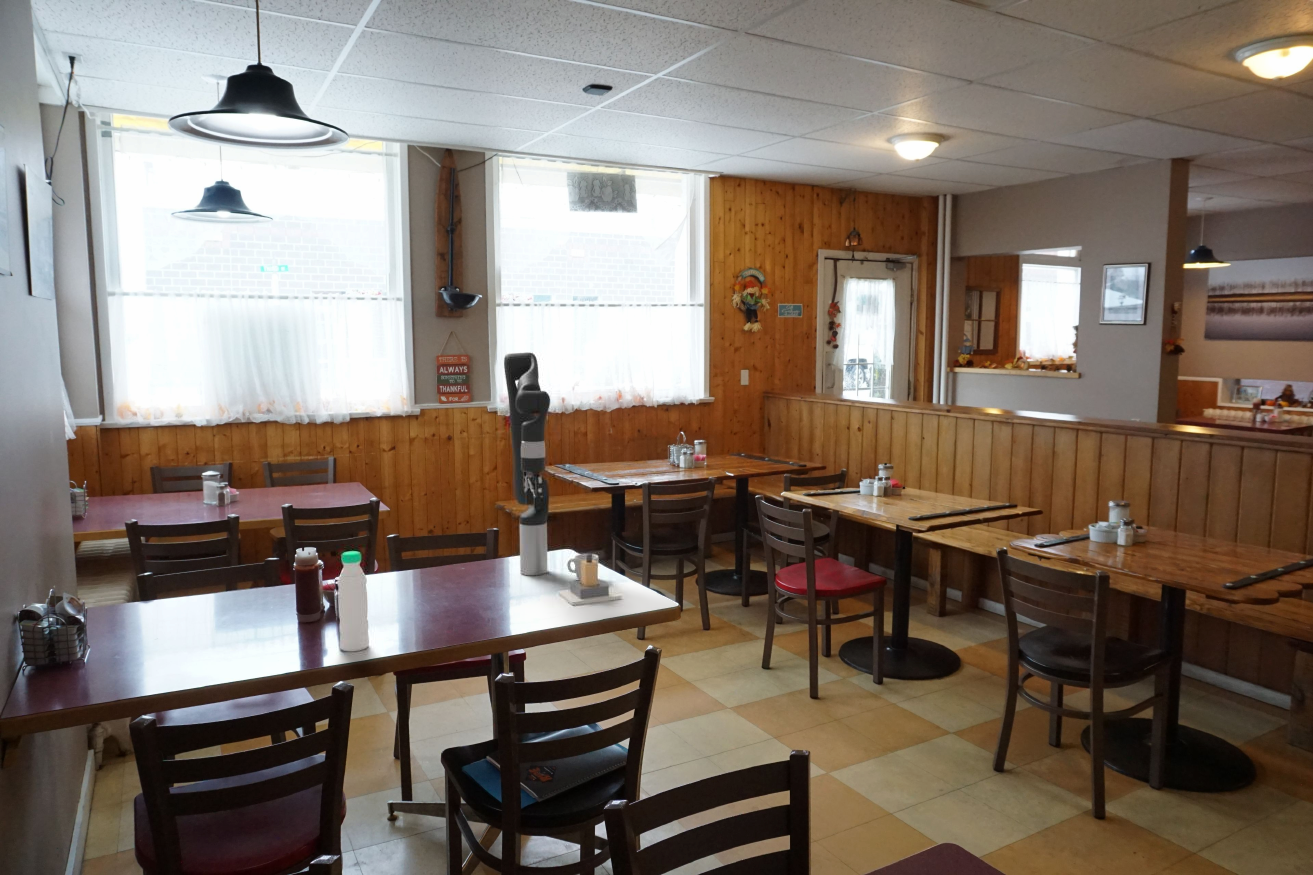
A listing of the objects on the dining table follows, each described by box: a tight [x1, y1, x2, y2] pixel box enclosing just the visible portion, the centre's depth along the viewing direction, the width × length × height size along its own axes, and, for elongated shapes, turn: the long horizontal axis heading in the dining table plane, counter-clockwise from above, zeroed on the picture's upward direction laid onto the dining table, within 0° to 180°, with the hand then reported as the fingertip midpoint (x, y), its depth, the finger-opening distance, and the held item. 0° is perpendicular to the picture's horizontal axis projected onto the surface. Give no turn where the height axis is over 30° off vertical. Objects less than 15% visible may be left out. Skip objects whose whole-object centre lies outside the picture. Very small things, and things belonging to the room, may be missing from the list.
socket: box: [557, 578, 622, 606], centre depth 269 cm, size 13×16×4 cm
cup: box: [567, 553, 599, 581], centre depth 289 cm, size 11×8×8 cm
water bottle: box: [337, 550, 370, 653], centre depth 222 cm, size 7×7×25 cm
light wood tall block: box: [581, 553, 599, 587], centre depth 269 cm, size 4×4×12 cm
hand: (533, 506), depth 270 cm, fingers open, 8 cm apart
